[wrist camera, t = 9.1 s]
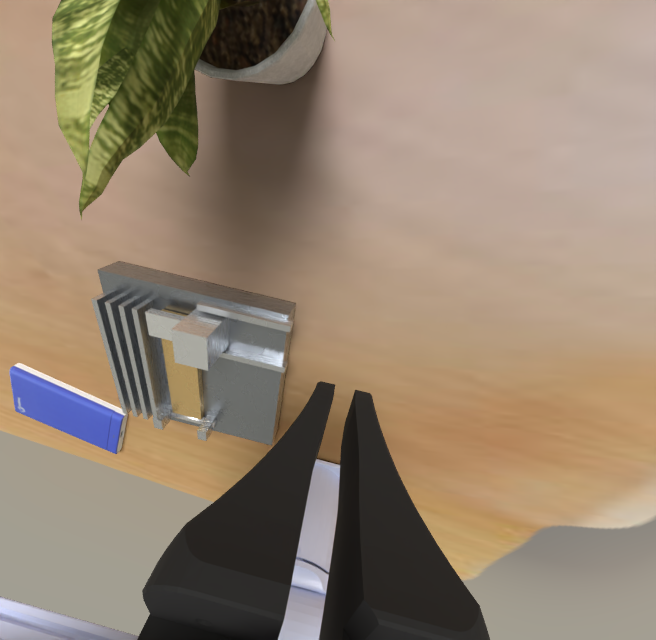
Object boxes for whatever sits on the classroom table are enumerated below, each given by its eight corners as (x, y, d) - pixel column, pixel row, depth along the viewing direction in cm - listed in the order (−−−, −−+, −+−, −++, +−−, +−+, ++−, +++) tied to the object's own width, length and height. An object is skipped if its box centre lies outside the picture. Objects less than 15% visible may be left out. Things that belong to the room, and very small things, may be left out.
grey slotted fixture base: (281, 429, 29) (269, 463, 26) (146, 395, 30) (118, 423, 27) (300, 304, 22) (287, 329, 18) (119, 261, 22) (74, 278, 19)
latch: (229, 344, 22) (208, 370, 19) (163, 328, 22) (134, 352, 20) (229, 314, 21) (206, 337, 18) (159, 297, 21) (126, 318, 18)
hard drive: (14, 413, 34) (114, 456, 35) (8, 368, 30) (121, 419, 31) (28, 403, 35) (124, 445, 37) (24, 359, 31) (131, 408, 32)
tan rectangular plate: (204, 414, 27) (201, 419, 26) (176, 407, 27) (172, 412, 27) (197, 317, 21) (193, 321, 21) (162, 309, 21) (157, 312, 21)
